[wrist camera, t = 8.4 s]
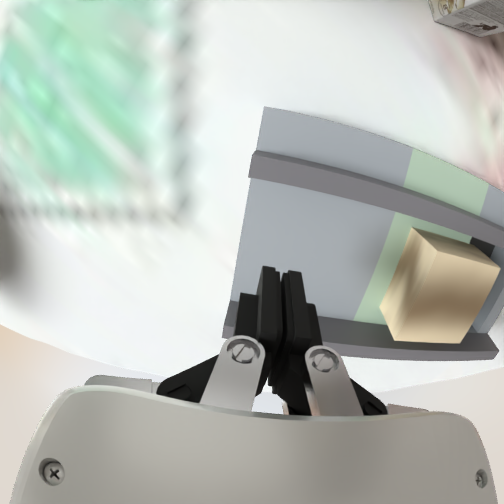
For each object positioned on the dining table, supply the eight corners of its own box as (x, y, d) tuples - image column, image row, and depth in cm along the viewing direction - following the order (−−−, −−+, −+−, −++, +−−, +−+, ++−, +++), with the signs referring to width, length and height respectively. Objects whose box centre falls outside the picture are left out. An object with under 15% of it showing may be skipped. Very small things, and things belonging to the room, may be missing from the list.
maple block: (411, 226, 18) (437, 251, 14) (474, 245, 18) (500, 268, 14) (379, 307, 21) (394, 340, 17) (441, 314, 21) (459, 343, 17)
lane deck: (266, 110, 19) (261, 102, 13) (519, 204, 19) (560, 228, 13) (230, 309, 27) (218, 362, 20) (456, 338, 27) (479, 377, 21)
